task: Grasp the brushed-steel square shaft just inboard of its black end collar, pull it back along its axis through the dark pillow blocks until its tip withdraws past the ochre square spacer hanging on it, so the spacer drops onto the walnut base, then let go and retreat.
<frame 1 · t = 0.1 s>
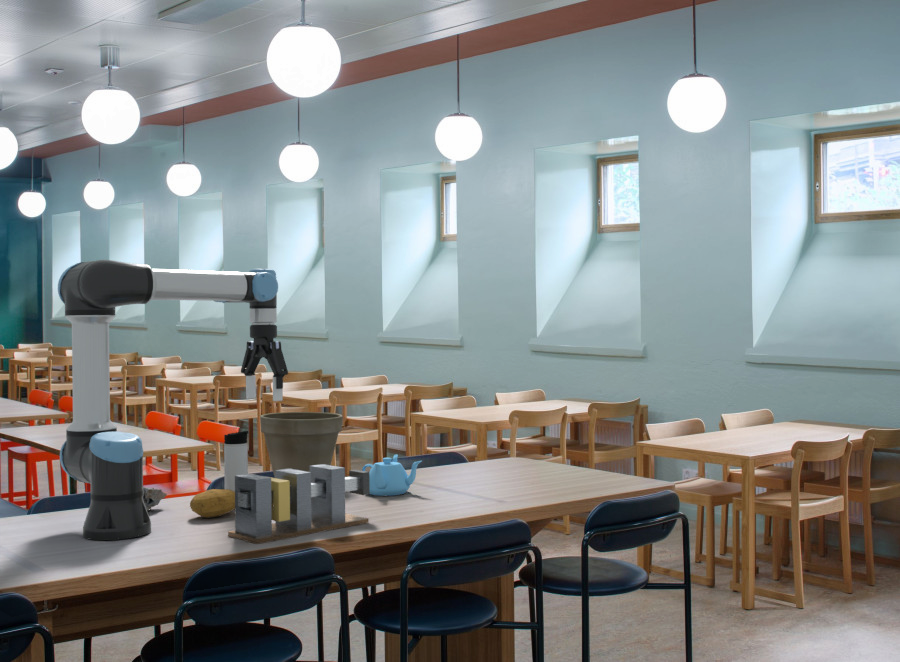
hand: (264, 399, 267), 28 cm above the table, fingers open, 13 cm apart
plant pot: (302, 486, 290), on the table
mineral specimen: (146, 511, 253), on the table
spacer: (273, 518, 222), point 4 cm above the table, touching shaft
shaft: (305, 490, 228), point 9 cm above the table, slide at 0.0 cm, touching spacer
bearing rail: (300, 529, 227), on the table
teapot: (391, 494, 276), on the table
potato: (215, 517, 244), on the table
travel mug: (237, 504, 261), on the table
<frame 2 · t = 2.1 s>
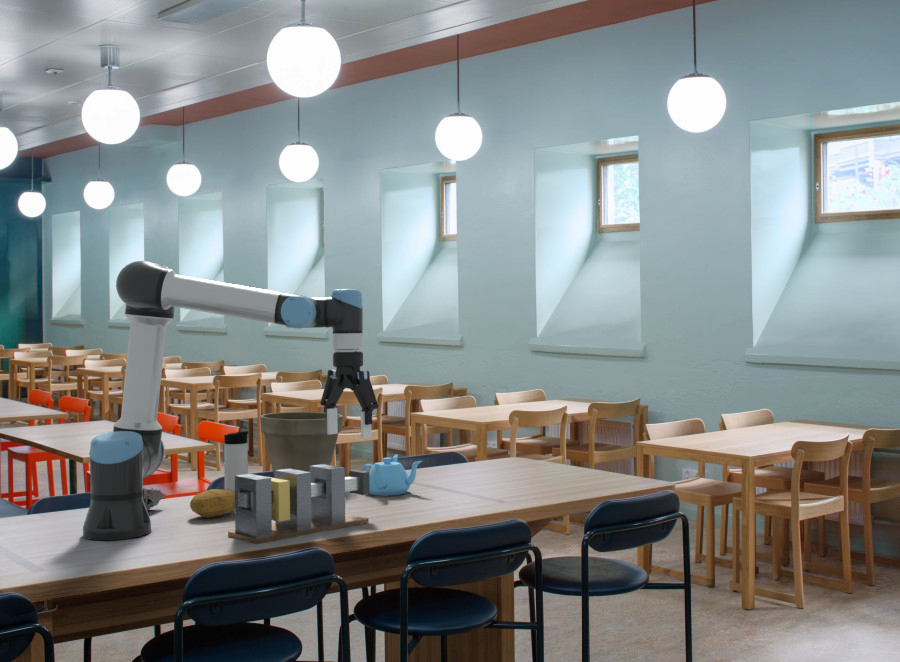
hand: (349, 436, 238), 21 cm above the table, fingers open, 13 cm apart
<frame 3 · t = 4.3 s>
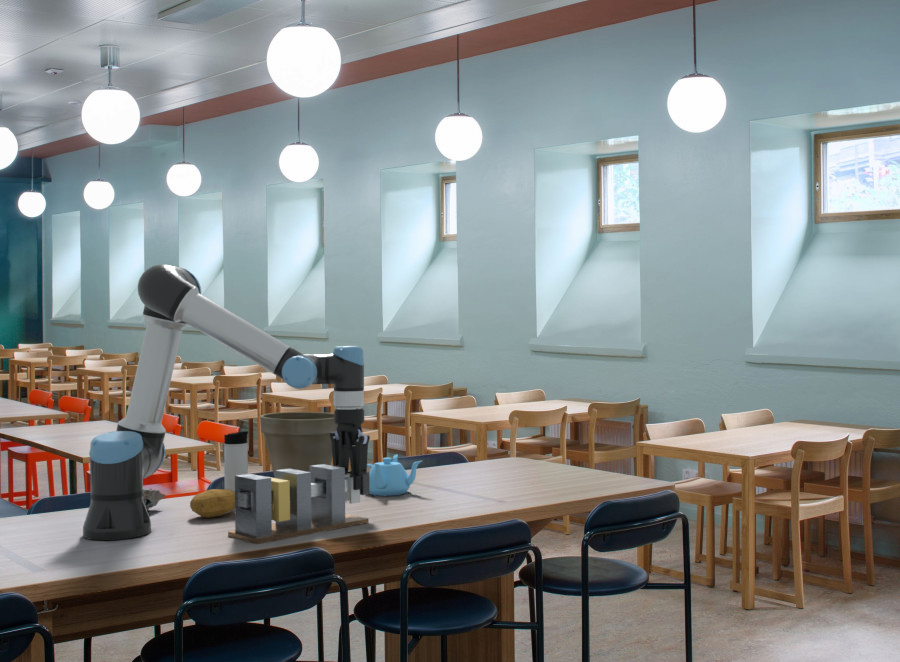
hand: (350, 501, 238), 5 cm above the table, fingers closed on shaft, 3 cm apart
shaft: (305, 490, 228), point 9 cm above the table, slide at 0.0 cm, touching gripper, spacer
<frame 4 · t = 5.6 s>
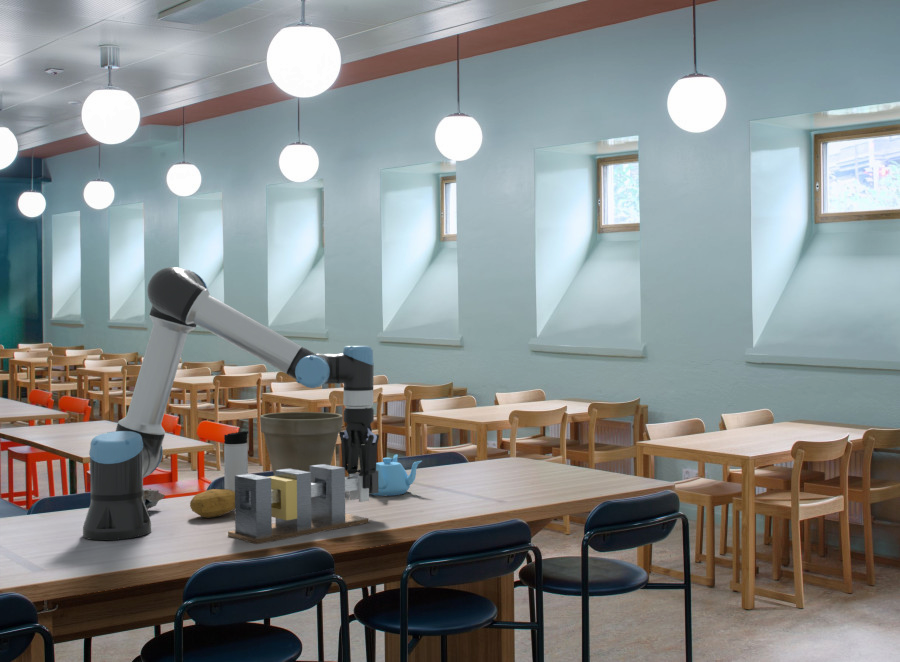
hand: (359, 500, 240), 5 cm above the table, fingers closed on shaft, 3 cm apart
spacer: (280, 516, 223), point 4 cm above the table, touching bearing rail
shaft: (315, 489, 230), point 9 cm above the table, slide at 2.9 cm, touching gripper
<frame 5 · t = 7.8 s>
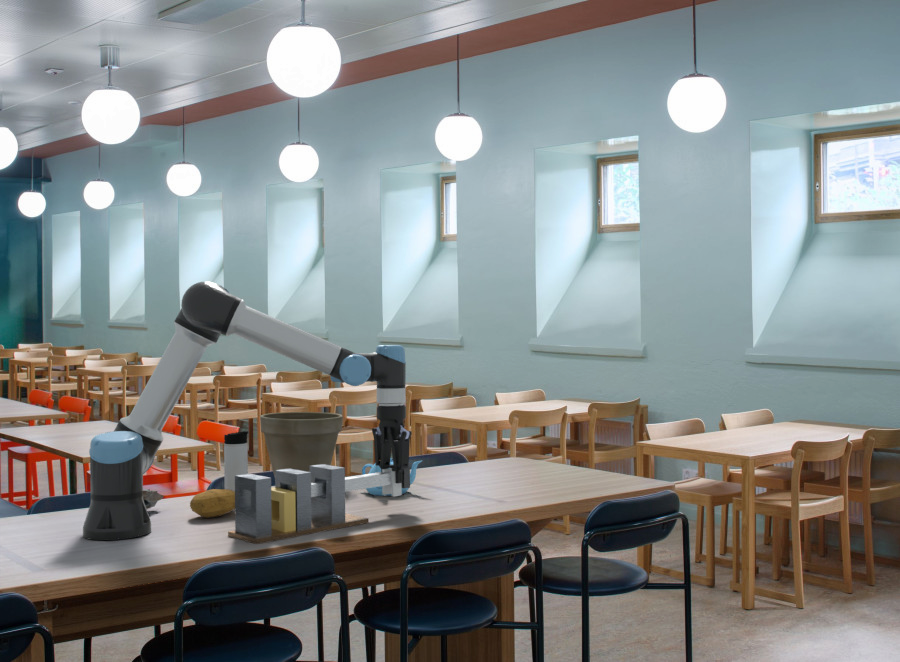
hand: (391, 494, 247), 5 cm above the table, fingers closed on shaft, 3 cm apart
spacer: (279, 528, 223), point 1 cm above the table, touching bearing rail
shaft: (349, 483, 238), point 9 cm above the table, slide at 13.5 cm, touching gripper
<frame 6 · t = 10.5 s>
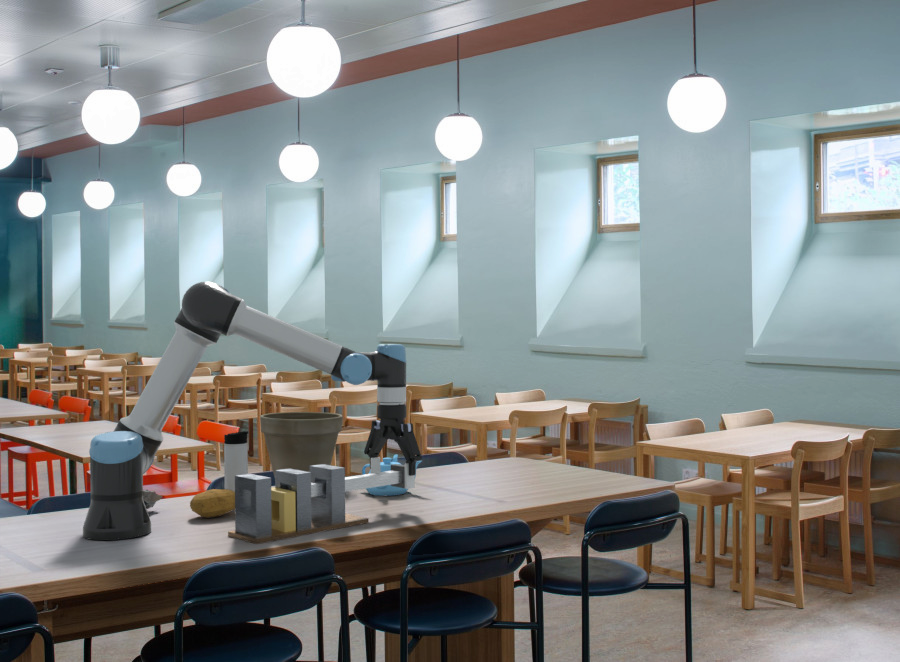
hand: (392, 485, 247), 7 cm above the table, fingers open, 13 cm apart
shaft: (350, 483, 238), point 9 cm above the table, slide at 13.8 cm
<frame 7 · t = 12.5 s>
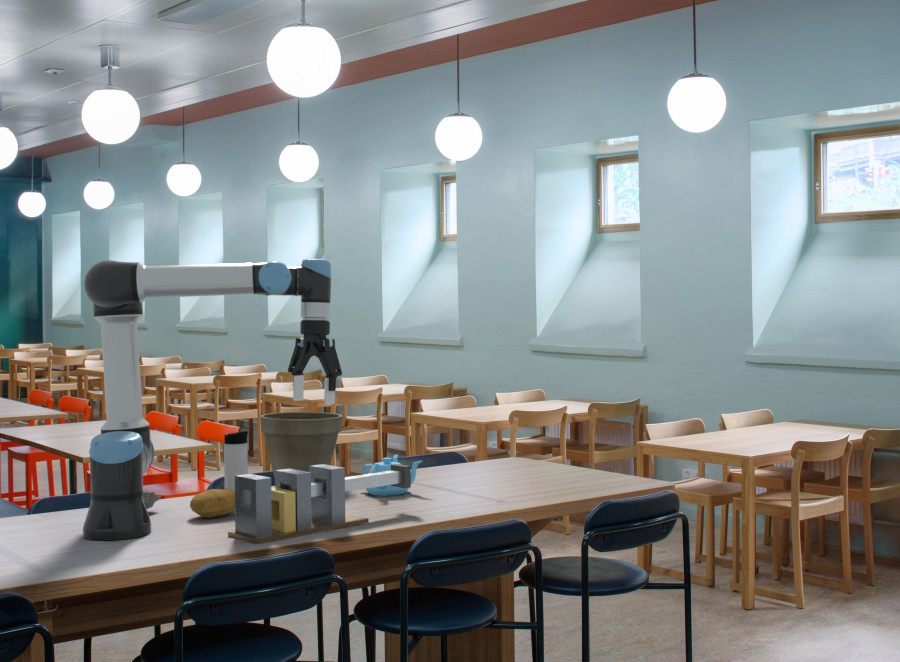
hand: (313, 402, 244), 29 cm above the table, fingers open, 13 cm apart
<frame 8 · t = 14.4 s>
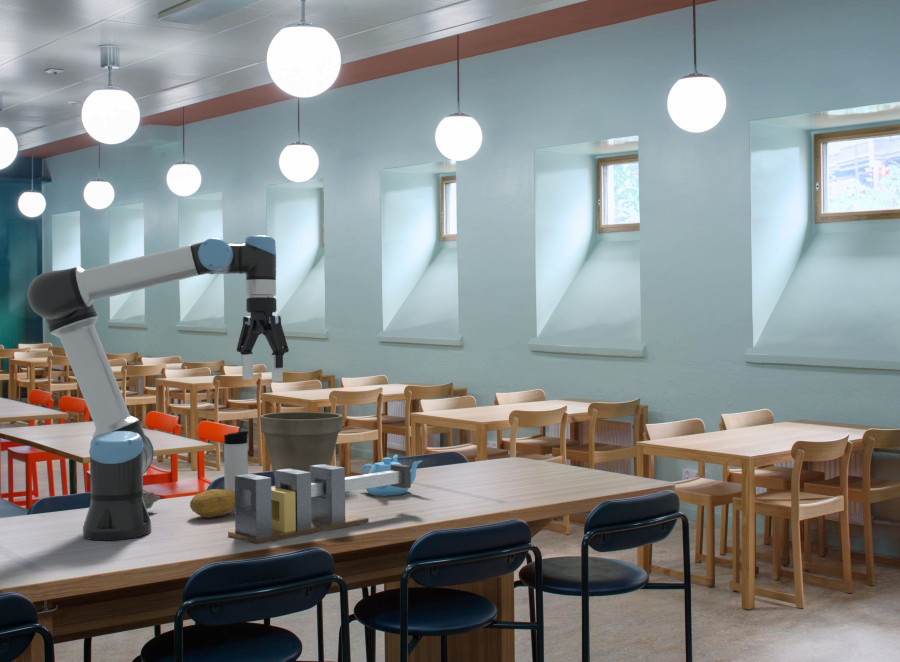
hand: (262, 380, 242), 35 cm above the table, fingers open, 13 cm apart
at the end: shaft slide at 13.8 cm; spacer touching bearing rail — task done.
